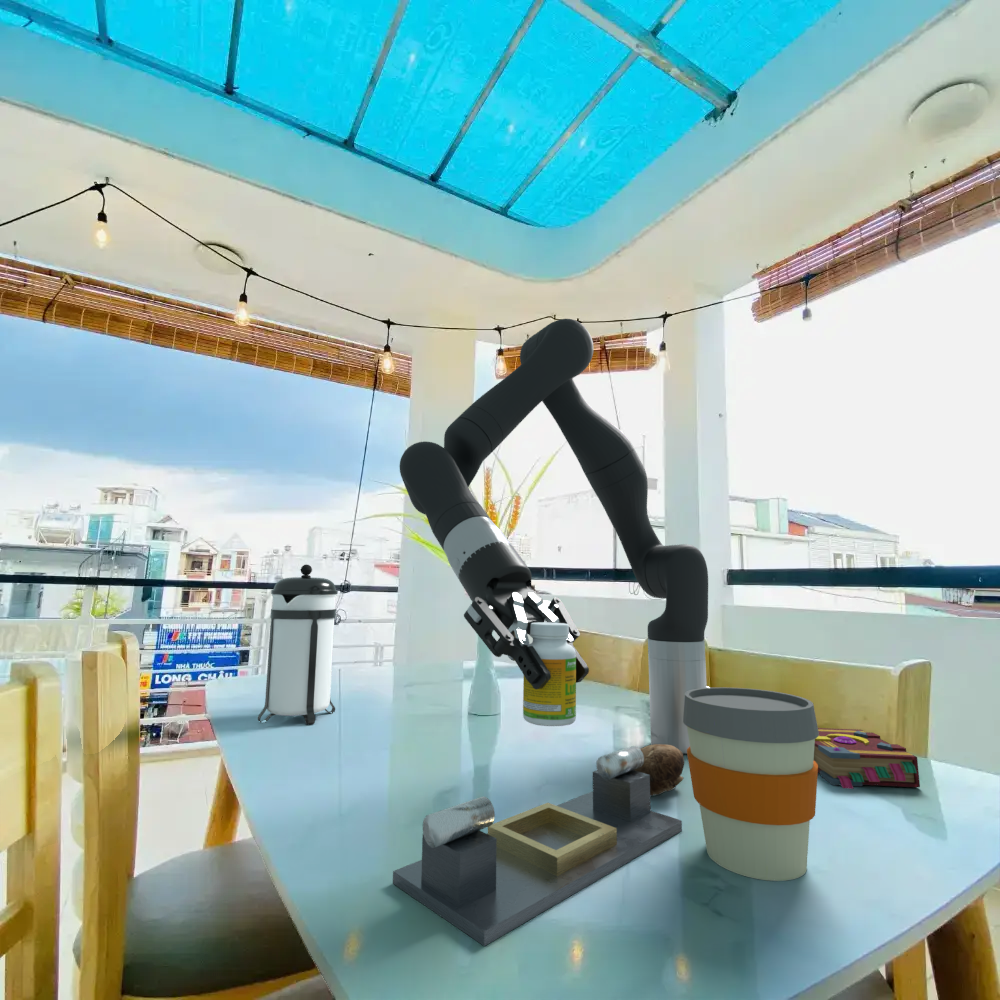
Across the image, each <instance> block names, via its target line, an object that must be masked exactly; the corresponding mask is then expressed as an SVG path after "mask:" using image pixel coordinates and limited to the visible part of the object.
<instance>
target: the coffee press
mask: <svg viewBox="0 0 1000 1000" xmlns="http://www.w3.org/2000/svg"><path fill="white" fill-rule="evenodd" d="M299 571H300V572H301V574H302V575H300V576H301V577H298V576H297V577H296V576H295V577H285V578H282V579H280V580H279V581H277V582H276V583H275V584H274V587H273V589H271V591H270V594H271V596H272V606H271V609H270V626H269V641H268V655H267V657H268V658H267V671H266V683H265V684H266V686H265V698H264V699H265V701H264V707H263V709H262V710H261V711H260V713H259V714H258V716H257V721H258V722H259V721H260V722H259V723H261V721H262V720H261V718H262V717H263V716H264V713H266V710H267V711H268V712H269V713H270V714H268V715H267V716H266V717H265V718H264V719H263V720H266V721H267V722H268V721H269V719H271V718H272V717H273V716H286V717H287V716H289V717H290V716H291V717H293V716H295V717H296V716H301V717H303V719H304V722H305V725H306V724H307V725H308V724H309V725H313V724H315V722H316V717H315V714H317V713H320V712H322V711H325V712H326V713H328V714H330V712H332V714H334V713H335V711H336V707H335V705H334V703H333V702H332V700H331V697H332V696H331V695H332V694H331V690H332V689H331V688H332V672H333V671H332V669H333V652H334V634H335V618H336V617H337V615H336V614H337V609H336V599H337V598H336V597H337V596H338V593H339V591H338V590H336V589H337V588H336V584H335V583H334V582H333V581H332V580H331V579H328V578H325V577H324V578H323V577H311V574H312V572H313V568H312V566H311V565H309V564H304V565H302V566H301V567H300V569H299ZM329 705H330V706H331V710H330V711H329V710H328V709H327V708H329ZM333 712H334V713H333ZM307 725H306V726H307Z"/></svg>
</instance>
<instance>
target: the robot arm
mask: <svg viewBox="0 0 1000 1000" xmlns="http://www.w3.org/2000/svg"><path fill="white" fill-rule="evenodd" d="M519 352H520V353H519V359H520V365H519V366H518V367H517V368H515V370H513V371H512V372H511V373H509V374H508V375H507V376H505V378H503V379H501V381H499V382H498V383H496V384H495V385H494V386H493V387H491V388H490V389H489V390H487V391H486V392H485V393H483V394H482V395H481V396H480V397H478V398H477V399H476V400H475V401H474V402H473V403H471V404H470V406H468V407H467V408H466V409H465V410H464V411H463V412H461V414H459V416H458V417H457V418H456V419H455V420H453V421H452V423H450V425H449V426H448V427H447V428H446V429H445V433H444V435H443V437H444V438H443V446H442V445H440V444H438V443H436V442H432V441H419V442H415V443H413V444H411V445H410V446H408V447H407V448H406V449H405V450H404V452H403V454H402V455H401V457H400V460H399V473H400V477H401V479H402V482H403V484H404V486H405V490H406V492H407V493H408V497H409V500H410V501H411V503H412V506H413V507H414V509H415V510H417V511H418V512H419V513H421V514H423V515H425V516H426V519H427V521H428V524H429V527H430V530H431V532H432V534H433V535H434V538H435V539H436V540H437V542H438V543H439V545H440V547H441V548H442V550H443V552H444V553H445V556H446V558H447V561H448V563H449V566H450V567H451V569H452V570H453V572H454V574H455V576H456V577H457V579H458V580H459V583H460V584H461V586H462V587H463V590H465V592H466V594H467V595H468V597H469V599H470V600H471V603H470V605H469V606H468V608H467V609H466V610H465V612H464V614H463V617H464V619H465V620H466V622H467V623H468V624H469V625H470V626H471V628H472V629H473V631H474V632H475V633H476V634H477V636H478V637H479V638H480V640H482V642H483V643H484V645H486V647H487V648H488V650H489V651H490V652H491V654H492V655H494V656H495V657H497V658H501V657H502V656H503V655H504V656H507V658H509V660H511V661H514V662H515V664H517V665H516V666H518V668H519V670H520V671H521V672H522V674H523V677H524V676H525V678H526V679H527V681H528V682H529V683H530V684H531V685H532V686H533V688H534V689H541V688H543V687H544V686H545V685H546V683H547V682H548V681H549V680H550V678H551V674H550V672H549V670H548V669H547V667H546V666H545V664H544V663H543V661H542V660H541V658H540V657H539V655H538V653H537V652H536V650H535V649H534V647H533V646H528V645H529V644H530V639H529V636H530V637H531V634H530V629H531V623H536V622H552V623H565V624H568V625H569V638H567V644H569V645H571V646H572V647H573V648H574V649H575V652H576V684H577V683H581V682H582V681H583V680H584V679H585V678H586V677H587V676H588V674H589V672H590V668H589V667H588V665H587V663H586V661H585V660H584V659H583V656H581V654H580V653H579V651H578V650H577V649H576V647H575V646H574V642H576V640H577V639H578V638H579V637H580V635H581V633H580V630H579V629H578V627H577V625H576V623H575V622H574V620H573V618H572V617H571V615H570V613H569V611H568V610H567V608H566V606H565V604H564V603H563V601H562V600H561V599H560V598H559V597H557V596H553V598H552V600H544V599H543V597H542V596H541V595H540V594H538V593H537V592H536V591H535V590H534V589H533V587H532V571H531V569H530V568H529V566H528V565H527V564H526V562H525V561H524V559H523V558H522V557H521V556H520V554H519V553H518V552H517V550H516V549H515V548H514V546H513V545H512V543H511V542H510V541H509V539H508V538H507V536H506V535H505V534H504V532H503V531H502V530H501V529H500V528H499V527H498V526H497V525H496V523H494V522H493V520H492V519H491V518H490V516H489V515H488V514H487V512H486V511H485V509H484V507H482V505H481V504H480V502H478V501H477V499H476V498H475V496H474V495H473V493H472V492H471V490H470V488H469V487H470V486H471V483H472V482H473V480H474V479H475V477H476V475H477V473H478V472H479V470H480V468H481V466H482V464H483V462H484V460H486V459H487V458H489V456H490V455H491V454H492V453H493V452H494V451H495V450H496V449H497V448H498V447H499V446H500V444H502V442H503V441H505V440H506V439H507V437H508V436H510V434H511V433H512V432H513V431H514V430H515V429H516V428H517V427H518V426H519V425H520V424H521V422H522V421H524V420H525V418H526V417H528V415H529V414H530V413H532V411H534V409H535V408H536V407H538V405H540V403H543V405H544V407H545V408H546V409H547V410H548V412H549V413H550V415H551V417H552V418H553V419H554V421H555V423H556V424H557V426H558V428H559V429H560V431H561V433H562V435H563V437H564V439H565V440H566V442H567V444H568V445H569V447H570V449H571V450H572V452H573V454H574V456H575V457H576V459H577V461H578V463H579V465H580V467H581V469H582V471H583V473H584V475H585V476H586V479H587V481H588V482H589V484H590V487H591V488H592V490H593V491H594V493H595V495H596V496H597V498H598V501H600V503H601V505H602V507H603V510H604V511H605V513H606V515H607V517H608V520H609V521H610V524H611V525H612V527H613V529H614V530H615V532H616V535H617V537H618V539H619V541H620V544H621V546H622V548H623V551H624V553H625V555H626V557H627V560H628V562H629V565H630V567H631V570H632V572H633V574H634V577H635V579H636V582H637V583H638V585H639V586H640V588H641V589H642V591H644V592H645V593H646V594H647V595H649V596H650V597H653V598H657V599H665V609H664V611H663V612H662V613H661V615H659V616H658V617H657V618H654V619H652V620H651V621H649V622H648V624H647V650H648V651H647V654H648V655H647V656H648V658H647V659H648V660H647V661H648V683H649V684H648V685H649V687H648V689H649V691H648V692H649V694H648V695H649V720H650V721H649V722H650V723H649V724H650V725H649V727H650V745H654V744H666V745H672V746H674V747H676V748H677V749H679V750H680V751H681V752H682V753H683V754H687V749H688V748H689V747H690V742H689V736H688V730H687V726H686V725H685V724H684V723H683V715H684V701H685V693H686V692H687V691H690V690H694V689H700V688H711V687H710V686H708V685H707V667H706V666H707V665H706V663H707V662H706V645H705V630H706V628H707V624H708V619H709V571H708V566H707V562H706V560H705V556H704V555H703V553H702V552H701V551H700V550H699V548H697V547H696V546H694V545H692V544H687V543H685V544H684V543H683V544H671V545H670V544H669V545H663V544H662V542H661V540H660V539H659V537H658V535H657V534H656V532H655V530H654V528H653V527H652V524H651V522H650V519H649V515H648V496H649V495H648V491H649V489H648V488H649V487H648V475H647V471H646V468H645V467H644V464H643V463H642V460H641V459H640V457H639V455H638V453H637V452H636V449H635V447H634V446H633V444H632V442H631V440H630V439H629V437H627V435H626V434H625V433H624V432H623V431H622V430H621V429H620V428H618V427H617V426H616V425H615V424H613V423H612V422H611V421H610V420H608V419H607V418H606V417H604V416H603V415H602V414H600V412H598V411H596V410H595V409H594V408H593V407H592V406H591V405H590V404H589V402H587V400H586V399H585V397H584V396H583V394H582V392H581V391H580V389H579V387H578V386H577V383H576V382H575V380H574V378H576V377H577V376H579V375H580V374H581V373H583V372H584V371H585V370H587V367H589V365H590V364H591V361H592V359H593V356H594V355H593V354H594V341H593V339H592V335H591V333H590V332H589V331H588V329H587V327H586V326H584V325H583V324H582V323H581V322H579V321H577V320H575V319H571V318H560V319H557V320H555V321H553V322H550V323H549V324H547V325H546V326H544V327H543V328H542V329H540V330H539V331H537V332H536V333H535V334H533V335H531V336H530V337H528V339H527V340H525V341H524V343H523V344H522V346H521V348H520V351H519ZM493 632H495V633H496V634H497V636H498V637H499V638H498V639H496V638H495V637H494V636H493ZM528 635H529V636H528ZM531 638H532V639H533V637H531Z"/></svg>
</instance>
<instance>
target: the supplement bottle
mask: <svg viewBox="0 0 1000 1000" xmlns="http://www.w3.org/2000/svg"><path fill="white" fill-rule="evenodd" d="M530 634H531V636H530V638H532V637H533V638H532V642H531V643H529V645H528V646H533V647H534V649H535V650H536V652H537V653H538V655H539V657H540V658H541V660H542V661H543V663H544V664H545V666H546V667H547V669H548V670H549V672H550V674H551V678H550V680H549V681H548V682H547V683H546V685H545V686H544V687H543V688H541V689H534V688H533V686H532V685H531V684H530V683H529V682H528V681H527V679H526V678H525V676H524V675H523V685H522V686H523V691H522V694H523V695H522V696H523V697H522V698H523V699H522V703H523V704H522V708H523V709H522V716H523V717H522V718H523V720H524V721H526V722H527V723H529V724H531V725H535V726H541V727H563V726H569V725H573V724H574V723H575V721H576V720H577V683H576V652H575V649H576V648H575V649H574V648H573V647H572V646H571V645H569V644H567V638H569V625H568V624H565V623H552V622H547V621H544V622H536V623H531V629H530Z"/></svg>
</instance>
